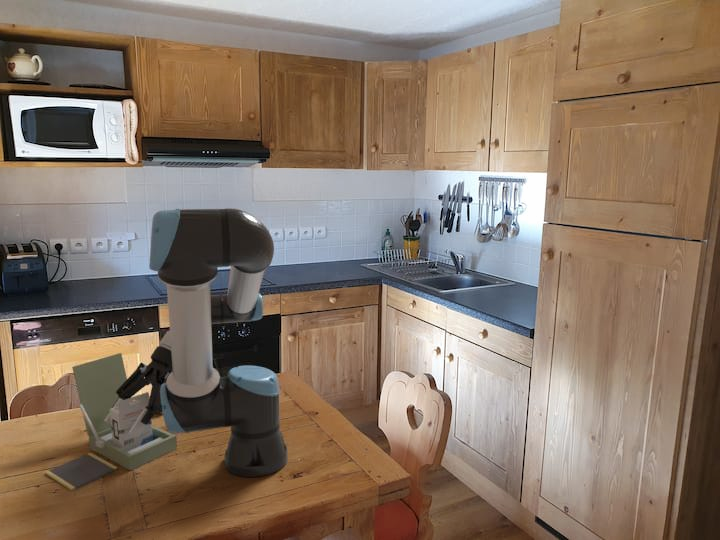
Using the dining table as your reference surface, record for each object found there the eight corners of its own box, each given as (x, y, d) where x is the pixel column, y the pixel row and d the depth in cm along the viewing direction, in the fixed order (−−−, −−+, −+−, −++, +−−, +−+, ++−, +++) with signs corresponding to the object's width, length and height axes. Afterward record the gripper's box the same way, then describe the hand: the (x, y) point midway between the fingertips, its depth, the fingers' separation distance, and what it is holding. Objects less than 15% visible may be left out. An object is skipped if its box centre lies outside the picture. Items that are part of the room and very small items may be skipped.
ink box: (143, 439, 146) (139, 386, 144) (154, 445, 143) (150, 391, 141) (112, 451, 140) (107, 397, 137) (122, 458, 137) (118, 402, 134)
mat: (117, 469, 132) (117, 467, 132) (71, 490, 123) (71, 488, 123) (90, 454, 139) (90, 452, 138) (45, 473, 130) (44, 471, 130)
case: (177, 448, 142) (172, 370, 138) (127, 472, 130) (120, 388, 127) (125, 424, 155) (119, 352, 151) (76, 444, 144) (68, 367, 140)
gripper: (207, 367, 144) (158, 447, 134) (154, 350, 157) (106, 423, 147) (189, 353, 139) (137, 436, 129) (136, 337, 152) (85, 411, 142)
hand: (120, 429), depth 138 cm, fingers open, 10 cm apart
